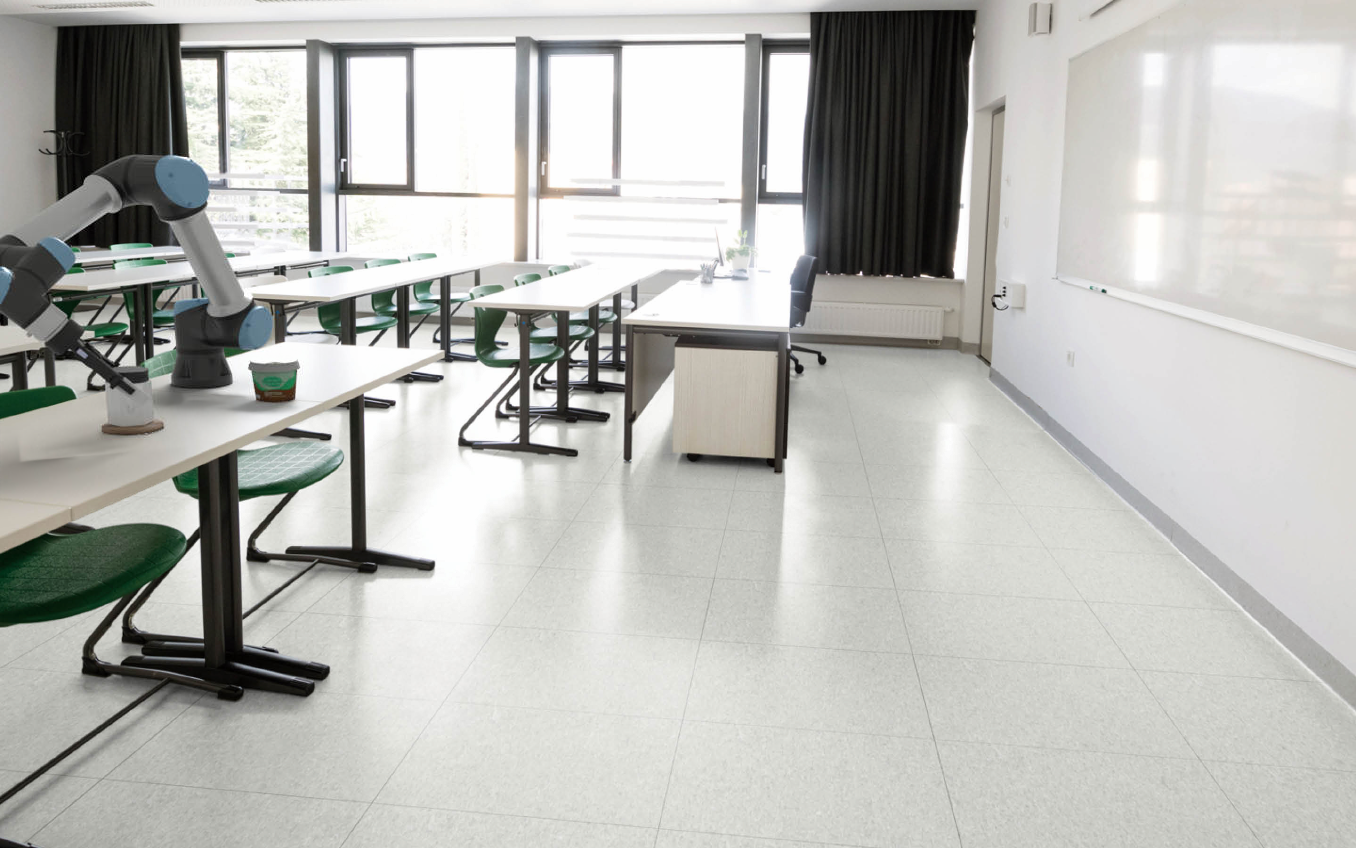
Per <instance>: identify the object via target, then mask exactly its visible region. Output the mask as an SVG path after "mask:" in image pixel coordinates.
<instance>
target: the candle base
mask: <svg viewBox="0 0 1356 848" xmlns="http://www.w3.org/2000/svg"><path fill="white" fill-rule="evenodd" d="M164 428H165V424H164V421H162V420H159V419H156V418H154V421H153V422H151V423H149V424H147V425H144V426H132V427H119V426H114V425H110V424H108V422H106V423H104V424H102V425H101V432H102V433H103V434H105V435H109V436H111V435H112V436H138V434H141V435H146V434H145V433H148V434H152V432H153V433H157V432H160V431H162V430H163V429H164ZM161 429H162V430H161ZM159 430H160V431H159ZM156 431H157V432H156Z"/></svg>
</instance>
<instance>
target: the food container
mask: <svg viewBox="0 0 1356 848" xmlns="http://www.w3.org/2000/svg"><path fill="white" fill-rule="evenodd" d="M247 369H248V370H249V371H251V377H252V383H253V388H254V394H255V400H256V401H257V402H261V403H269V404H270V403H273V404H275V403H277V404H278V403H286V402H287V401H288V402H292V401H294V400H295V399H296V395H297V394H296V393H297V392H296V391H297V380H298V379H297V377H298V370H299V369H301V365H300V362H299V361H298V359H296V360H295V361H291V362H279V361H278V362H277V361H275V362H274V361H273V362H272V361H271V362H267V363H260V362H253V361H251V360H249V363H248V368H247ZM291 400H292V401H291Z"/></svg>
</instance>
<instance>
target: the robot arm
mask: <svg viewBox="0 0 1356 848" xmlns="http://www.w3.org/2000/svg"><path fill="white" fill-rule="evenodd" d="M210 187H211V185H210V180H209V177H208V175H207V173H206V171H205V170H204V169H203V167H202V166H201V165H200V164H199V163H198V162H197V161H195V160H193V159H191V158H189V157H185V156H179V155H173V154H172V155H171V154H169V155H147V154H146V155H145V154H132V155H127V156H124V157H121V158H118V159H116V160H114V161H112V162H109V163H108V164H106V165H105V166H103V167H101V168H99V169H98V170H95V171H94V172H93V173H91V174H90V175H88V176H87V177H85V179H84V181H83V184H82V185H81V186H80V187H78V188H77V189H75V190H73V191H72V192H70V193H68V194H67V195H66V196H64V197H63V198H61V199H59V200H58V201H56V202H55V203H53V204H51V205H50V206H48V207H47V208H45V209H44V210H43V211H41V212H39V213H37V214H36V215H35V216H33V217H31V218H30V219H28V220H27V221H25V222H23V223H21V224H20V225H19V226H17V227H16V228H14V229H12V230H11V231H9V232H8V233H6V234H5V235H4V236H3V235H2V237H0V314H1V315H4V317H6V318H7V319H9V320H10V322H11V321H12V323H14V324H15V325H17V326H18V327H20V328H21V329H22V330H24V331H25V332H26V334H25V335H26V337H27V338H31V337H32V336H33V338H34V339H36V340H37V341H38V342H40V343H41V342H44V346H45V347H46V348H47V349H49V351H51V352H53V353H54V354H55V355H56V356H61V355H62V356H63V354H65V353H66V352H67V351H68V350H70V351H71V352H72V353H73V357H74V359H76V360H77V361H78V362H80V363H82V364H83V365H84V366H86V368H89V369H90V370H93V372H94V373H96V374H98V376H100V377H101V378H102V379H103V380H104V381H105V382H108V383H110V385H111V386H110V388H111V389H112V390H113V389H114V388H117V389H118V390H119V391H121V392H122V393H123V394H125V395H126V396H127V397H129V398H130V399H131V400H133V401H134V402H135V403H137V404H138V405H139V406H141V407H142V406H143V405H144V404H145V403H146V402H147V401H148V400H149V399H150V398H151V397H150V396H149V395H147V394H146V393H145V392H143V391H142V390H141V389H139V388H138V387H137V386H135V385H134V384H133V383H131V382H130V381H129V380H128V379H126V378H125V377H124V378H123V376H122V375H120V374H118V373H117V372H116V371H115V370H114V369H113V368H114V367H121V363H120V362H118V361H115V362H114V361H113V360H111V359H109V358H108V357H106V356H105V355H104V354H102V352H100V351H99V350H98V349H97V348H95V346H93V344H91V343H90V342H88V341H84V339H83V338H81V337H83V335H84V333H85V328H84V327H83V326H82V325H81V324H79V323H78V322H77V321H75V320H74V319H72V318H68V315H67V314H66V313H65V312H64V311H62V310H61V309H60V308H59V307H58V306H56V305H55V304H54V303H52V302H51V301H50V300H48V299H47V298H45V296H46V294H48V292H49V291H50V290H51V289H52V288H53V287H54V286H56V284H57V283H58V282H59V281H61V279H63V277H64V276H65V275H67V274H68V273H69V271H70V269H71V268H72V267H73V266H74V264H75V263H76V259H77V258H76V254H75V252H74V251H73V250H72V249H71V247H70V246H69V245H68V244H67V243H66V241H67V240H69V239H70V238H72V237H73V236H74V235H76V234H78V233H79V232H81V231H82V230H83V229H85V228H86V227H88V226H89V225H92V223H94V222H95V221H97V220H98V219H100V218H102V217H103V216H104V215H106V214H107V213H109V214H110V213H111V214H115V213H117V212H119V211H121V210H122V209H124V208H126V207H131V206H136V205H142V206H152V207H153V208H154V209H153V210H154V211H155V213H156V215H157V217H158V219H159V220H160V221H161V222H164V223H167V224H169V225H170V227H171V229H172V231H173V233H174V235H175V238H176V239H177V241H178V243H179V245H180V247H181V250H182V251H183V253H184V255H185V257H186V259H187V261H188V263H189V265H190V267H191V268H192V271H193V272H194V274H195V277H196V279H197V281H198V283H199V284H200V287H201V288H202V290H203V293H204V295H205V297H200V298H199V297H198V298H189V299H179V300H177V301H176V302H175V303H174V305H173V315H172V316H173V327H174V339H175V349H176V351H175V352H176V357H175V360H174V364H173V368H172V370H171V371H172V372H171V375H170V382H171V385H172V386H174V387H179V388H189V389H191V388H195V389H196V388H199V389H201V388H215V387H222V386H227V385H231V384H233V381H234V379H233V372H232V370H231V368H230V364H229V363H228V360H227V357H226V355H225V348H227V349H237V350H242V351H247V350H248V351H249V350H252V351H255V350H260V349H262V348H263V347H264V346H265V345H266V344H267V343H268V341H270V338H271V336H272V331H273V328H274V319H273V316H272V313H271V311H270V309H268V308H267V307H265V306H263V305H257V304H256V302H255V299H254V297H253V295H252V293H250V292H249V291H248V290H243V288H242V285H241V284H240V282H239V280H238V278H237V276H236V274H235V271H234V270H233V267H232V265H231V263H230V260H229V259H228V257H227V255H226V253H225V250H224V248H223V246H222V244H221V242H220V240H219V237H218V236H217V234H216V232H215V229H214V227H213V225H212V223H211V221H210V219H209V216H208V215H207V213H206V210H207V207H208V205H209V202H208V198H209V197H210V192H211V191H210V190H209V188H210Z"/></svg>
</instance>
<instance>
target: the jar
mask: <svg viewBox="0 0 1356 848" xmlns="http://www.w3.org/2000/svg"><path fill="white" fill-rule="evenodd" d="M113 369H114V370H115V371H116V372H117V373H118V374H120V375H122V376H123V378H124V377H125V378H126V379H128V380H129V381H130V382H131V383H133V384H134V385H135V386H137V387H138V388H139V389H141V390H142V391H143V392H145V393H146V394H147V395H149V396H150V397H151V398H150V399H149V400H148V401H147V402H146V403H145V404H144V405H143V406H142V407H141V406H139V405H138V404H137V403H135V402H134V401H133V400H131V399H130V398H129V397H127V396H126V395H125V394H123V393H122V392H121V391H119V390H118V389H117V388H114V389H113V390H112V389H111V388H110V386H111V385H110V383H108V382H107V381H105V382H104V387H105V400H106V411H107V412H106V413H107V423H108V424H110V425H114V426H119V427H132V426H144V425H147V424H149V423H151V422H153V421H154V419H155V415H154V413H155V412H154V401H153V398H154V397H153V386H152V385H153V384H152V379H150V375H149V368H148V367H145V366H141V365H140V366H139V365H128V366H127V365H126V366H125V365H124V366H119V367H114V368H113Z"/></svg>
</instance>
